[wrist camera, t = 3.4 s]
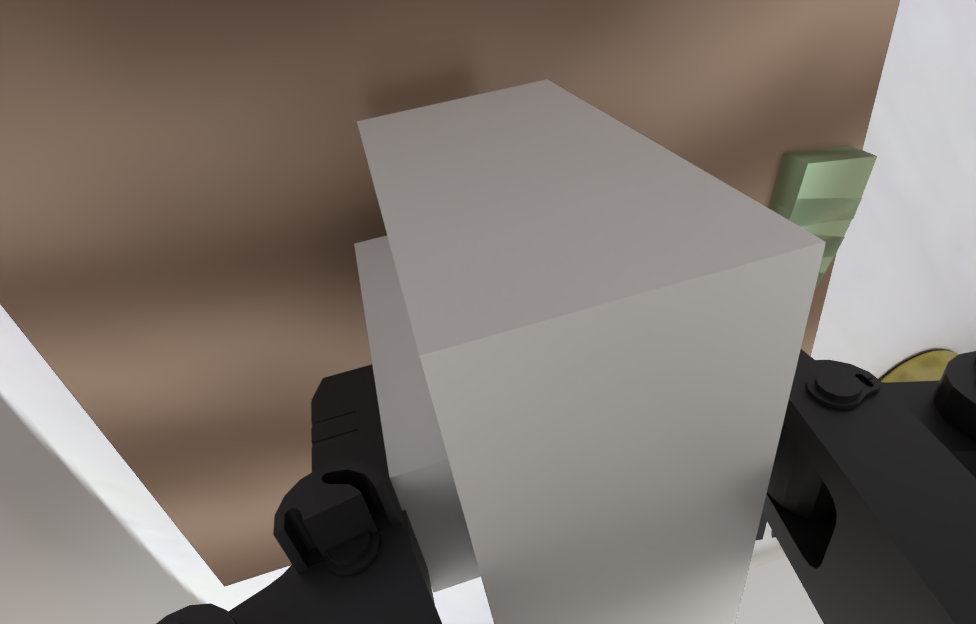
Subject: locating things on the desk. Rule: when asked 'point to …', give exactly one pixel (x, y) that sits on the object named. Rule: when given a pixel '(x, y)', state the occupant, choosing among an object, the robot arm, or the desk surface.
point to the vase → (921, 367)
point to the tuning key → (593, 350)
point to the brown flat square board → (340, 189)
